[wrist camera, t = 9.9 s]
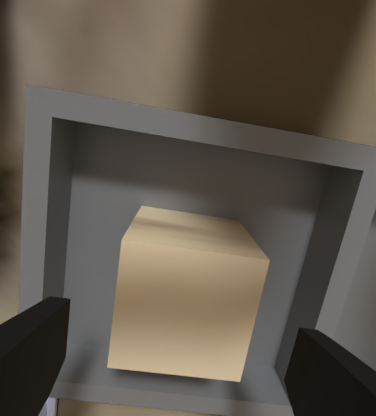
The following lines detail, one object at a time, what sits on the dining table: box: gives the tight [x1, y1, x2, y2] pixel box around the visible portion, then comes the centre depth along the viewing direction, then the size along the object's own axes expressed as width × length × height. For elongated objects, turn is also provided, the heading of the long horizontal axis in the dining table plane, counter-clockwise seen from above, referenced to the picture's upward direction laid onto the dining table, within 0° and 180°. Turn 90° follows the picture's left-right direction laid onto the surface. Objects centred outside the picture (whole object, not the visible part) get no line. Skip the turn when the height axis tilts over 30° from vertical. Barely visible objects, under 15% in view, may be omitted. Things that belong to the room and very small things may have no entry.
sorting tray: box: [18, 84, 376, 416], centre depth 14 cm, size 14×28×3 cm, turn 81°
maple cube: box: [107, 206, 270, 382], centre depth 12 cm, size 5×5×5 cm
